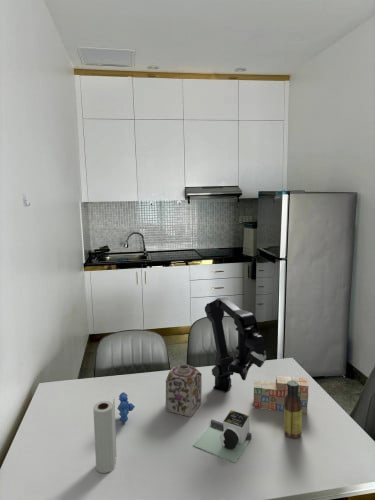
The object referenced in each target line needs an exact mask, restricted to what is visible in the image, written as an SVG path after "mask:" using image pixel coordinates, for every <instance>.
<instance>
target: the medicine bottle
mask: <svg viewBox="0 0 375 500" xmlns="http://www.w3.org/2000/svg"><path fill="white" fill-rule="evenodd" d="M222 423H223V428H224V430H223V432H222V434H221V435H220V442H221V444H222V445H223V446H224V447H225V448H227V449H234V448H235V447H236V445H237V443H239V444H241V445H242V444H243V442H244V441H245V440H246V439H247V438H246V437H247V434H248V432H249V433H250V416H249V415H248V414H245V413H242V412H239V411H235V410H232V409H231V410H229V412H228V414H227V415H226V417H225V418H224V419H223V421H222Z"/></svg>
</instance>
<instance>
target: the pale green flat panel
mask: <svg viewBox="0 0 375 500" xmlns="http://www.w3.org/2000/svg"><path fill="white" fill-rule="evenodd" d="M223 431H224V430H223ZM223 431H222V430H221V429H220V430H219V429H218V428H215V427H213V426H208V427H207V428H206V429H205V430H204V431H203V433H201V435H200V436H199V438H198V439H197V440H196V441H195V442H194V443H193V445H192V446H193V447H195V448H196V449H199V450H203V451H204V452H207V453H210V454H211V455H214V456H217V457H219V458H220V459H225V461H229V462H232V463H234V464H236V463H237V461H238V460H239V458H240V456H241V455H242V453H243V452H244V450H245V449H246V447H247V446H248V444H249V442H250V440H248V439H247V440H246V439H245V441H244V442H243V444H242V445H241V444H239V443H237V445H236V447H235V448H234V449H227V448H225V447H224V446H223V445H222V444H221V442H220V435H221V434H222V432H223Z"/></svg>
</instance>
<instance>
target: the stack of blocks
mask: <svg viewBox="0 0 375 500" xmlns="http://www.w3.org/2000/svg"><path fill="white" fill-rule="evenodd" d="M253 381H254V382H253V404H252V405H253V408H254V407H255V408H256V409H261V408H263V409H262V410H269V409H271V410H270V411H277V410H279V412H284V399H285V397H286V395H287V394H288V393H287V392H288V387H287V382H288V381H296V382H298V383H299V388H298V395H299V398H300V400H301V402H302V404H301V406H302V415H303V414H304V415H307V414H308V403H309V402H308V401H309V384H308V383H309V381H308V378H303V377H297V376H282V375H276V376H275V381H266V380H258V379H257V380H256V379H254V380H253ZM255 408H254V409H255Z"/></svg>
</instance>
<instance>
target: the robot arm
mask: <svg viewBox="0 0 375 500" xmlns="http://www.w3.org/2000/svg"><path fill="white" fill-rule="evenodd" d="M204 312H205V314H206V318H207V319H208V320H209V322H210V323H211V328H212V333H213V339H214V344H215V345H214V346H215V349H216V350H215V351H216V357H215V359H214V367H212V369H211V375H212V376H214V386H213V389H214V390H217V391H221V392H224V393H227V392H228V390H229V389H231V388H232V385H233V384H232V378H231V376H233V375H234V374H237V375H239V376H240V378H241V380H242V381H246V379H247V375H248V373H249V370H250V368H251V367H252V366H253V365H256V366H257V368H261V367H262V366H263V365H264V364H265V362H266V360H267V353H266V350H267V342H266V341H265V339H263V336H262V335H261V334H260V332H261V329H260V326H259V323H258V322H257V318H256V316H255V315H254V314H253V313H252V312H250V311H248V310H244V309H240V308H239V307H238V306H237V305H236V304H235V303H233V302H232V301H231V300H229V299H228V297H225V296H224V297H217V298H216V299H215V300H213V301H211V302H208V303H207V304H206V305H205V306H204ZM225 313H226V314H227V315H228V316H230V317H231V319H233V324H234V325H235V326H236V328H235V331H237V345H236V346H235V350H237V355H236V356H235V359H236V360H235V359H234V357H233V356H232V355H230V353H229V352H228V346H227V340H226V335H225V330H224V323H223V320H224V316H225ZM237 360H238V361H237Z"/></svg>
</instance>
